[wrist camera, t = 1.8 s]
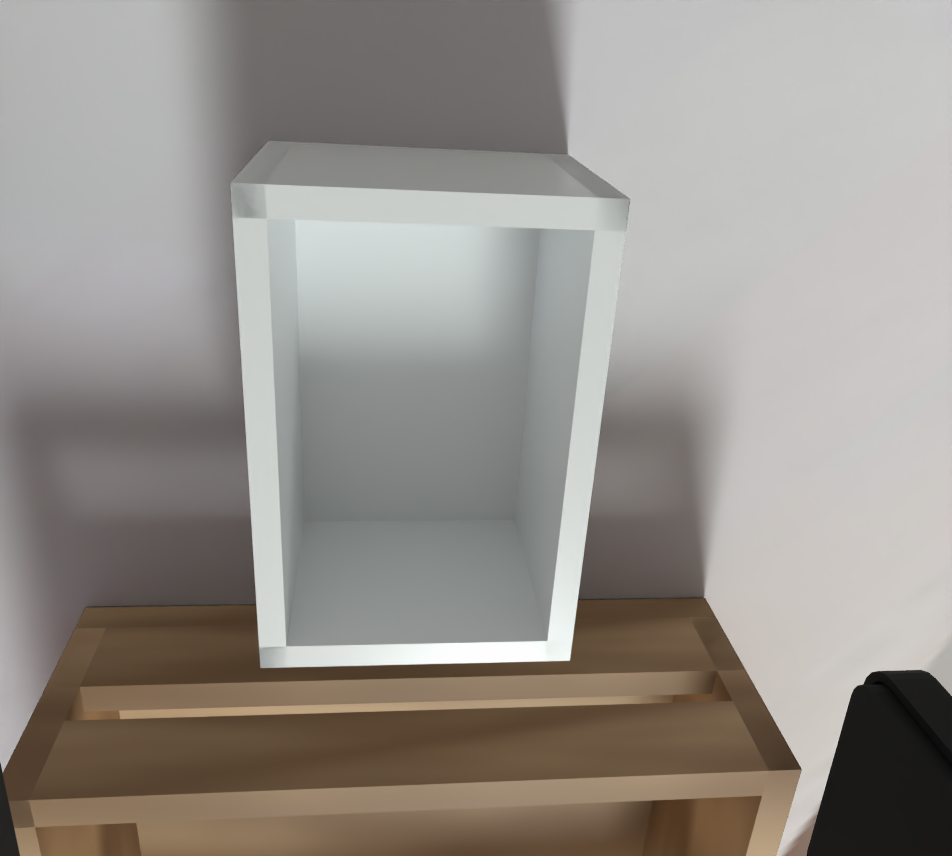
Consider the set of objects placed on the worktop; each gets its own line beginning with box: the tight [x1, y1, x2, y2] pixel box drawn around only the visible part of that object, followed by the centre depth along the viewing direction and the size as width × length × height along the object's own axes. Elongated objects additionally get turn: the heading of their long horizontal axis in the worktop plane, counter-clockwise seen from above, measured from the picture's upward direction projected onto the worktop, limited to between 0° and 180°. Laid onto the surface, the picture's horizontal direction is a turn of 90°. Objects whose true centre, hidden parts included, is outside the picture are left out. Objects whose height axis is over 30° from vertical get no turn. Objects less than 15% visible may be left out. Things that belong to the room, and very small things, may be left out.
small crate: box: [230, 141, 630, 668], centre depth 17 cm, size 9×6×5 cm, turn 177°
